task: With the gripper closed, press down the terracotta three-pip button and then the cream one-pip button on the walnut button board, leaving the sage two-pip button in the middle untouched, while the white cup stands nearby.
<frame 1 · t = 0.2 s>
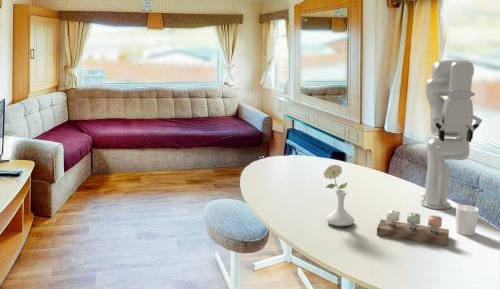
hand: (455, 140, 165), 36 cm above the table, tool pointing down, fingers open, 9 cm apart
plunger two: (413, 222, 166), point 6 cm above the table, slide at 0.0 cm
white cup: (465, 232, 171), on the table
flower in vase: (337, 224, 180), on the table
plunger three: (434, 225, 163), point 6 cm above the table, slide at 0.0 cm
plunger one: (392, 219, 169), point 6 cm above the table, slide at 0.0 cm
button board: (412, 235, 167), on the table
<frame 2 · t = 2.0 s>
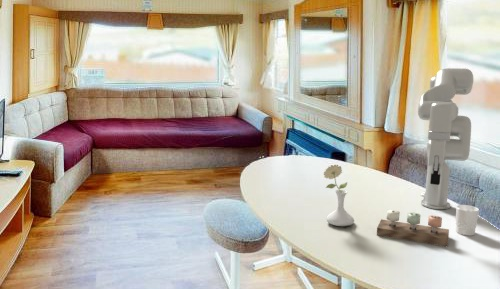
hand: (434, 183, 165), 20 cm above the table, tool pointing down, fingers closed
nothing on the table moved.
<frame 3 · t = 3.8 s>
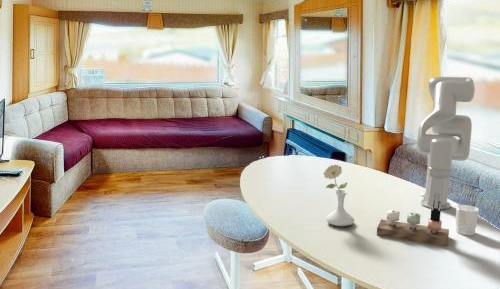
hand: (435, 220, 162), 8 cm above the table, tool pointing down, fingers closed
plunger three: (434, 228, 163), point 4 cm above the table, slide at 1.2 cm, touching gripper
everything else where it was.
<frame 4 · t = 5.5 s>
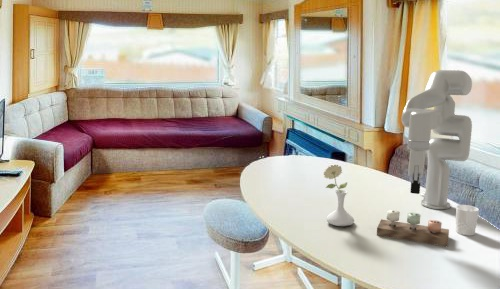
hand: (415, 192, 164), 17 cm above the table, tool pointing down, fingers closed
plunger three: (434, 229, 163), point 4 cm above the table, slide at 1.8 cm
everything else where it was.
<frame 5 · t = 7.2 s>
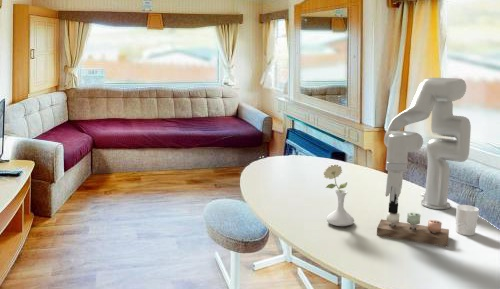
hand: (392, 212, 168), 8 cm above the table, tool pointing down, fingers closed
plunger one: (392, 220, 169), point 5 cm above the table, slide at 0.6 cm, touching gripper
everything else where it was.
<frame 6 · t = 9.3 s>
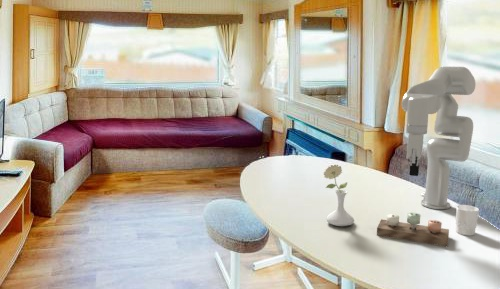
hand: (413, 175, 171), 22 cm above the table, tool pointing down, fingers closed
plunger one: (392, 223, 169), point 4 cm above the table, slide at 1.8 cm
everything else where it was.
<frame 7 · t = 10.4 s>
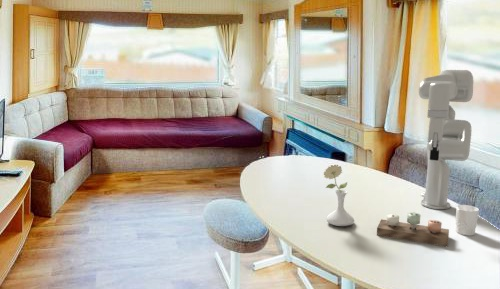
hand: (434, 159, 174), 27 cm above the table, tool pointing down, fingers closed
nothing on the table moved.
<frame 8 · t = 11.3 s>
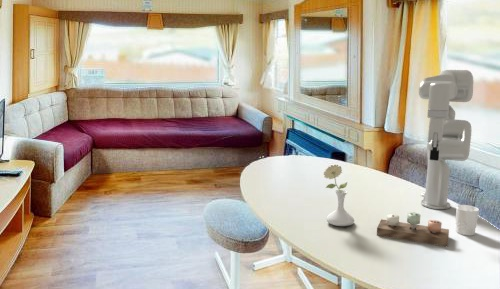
hand: (434, 159, 174), 27 cm above the table, tool pointing down, fingers closed
nothing on the table moved.
at the end: plunger three slide at 1.8 cm; plunger one slide at 1.8 cm; plunger two slide at 0.0 cm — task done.
